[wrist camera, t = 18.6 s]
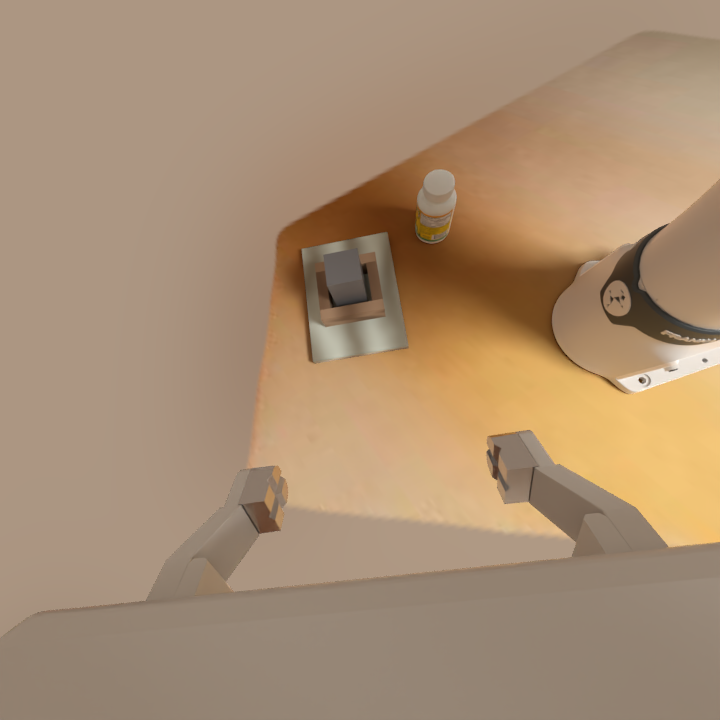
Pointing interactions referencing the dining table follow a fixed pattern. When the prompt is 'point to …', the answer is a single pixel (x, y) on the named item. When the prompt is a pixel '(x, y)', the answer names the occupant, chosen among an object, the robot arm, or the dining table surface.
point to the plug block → (345, 277)
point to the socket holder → (356, 321)
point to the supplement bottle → (435, 206)
